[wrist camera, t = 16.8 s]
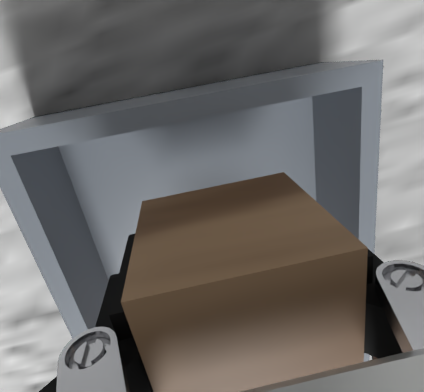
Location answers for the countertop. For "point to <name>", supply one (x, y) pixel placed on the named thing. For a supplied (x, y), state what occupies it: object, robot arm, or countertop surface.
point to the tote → (186, 164)
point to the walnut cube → (243, 287)
